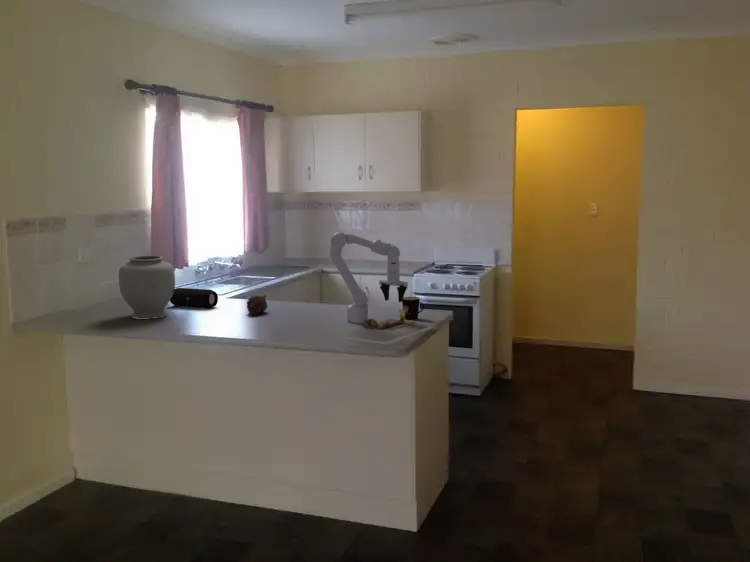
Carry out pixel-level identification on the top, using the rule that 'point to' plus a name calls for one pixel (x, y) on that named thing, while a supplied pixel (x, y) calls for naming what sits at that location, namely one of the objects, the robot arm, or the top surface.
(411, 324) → the board
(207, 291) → the portable speaker
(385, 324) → the lever
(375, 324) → the walnut
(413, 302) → the coffee mug
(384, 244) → the robot arm
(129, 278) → the grey ceramic vase
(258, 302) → the pine cone
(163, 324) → the top surface
